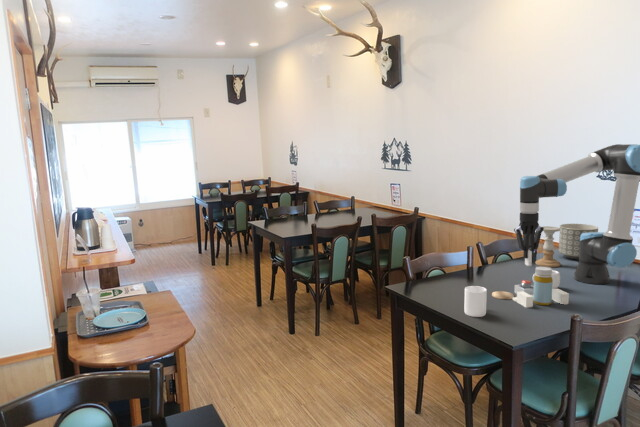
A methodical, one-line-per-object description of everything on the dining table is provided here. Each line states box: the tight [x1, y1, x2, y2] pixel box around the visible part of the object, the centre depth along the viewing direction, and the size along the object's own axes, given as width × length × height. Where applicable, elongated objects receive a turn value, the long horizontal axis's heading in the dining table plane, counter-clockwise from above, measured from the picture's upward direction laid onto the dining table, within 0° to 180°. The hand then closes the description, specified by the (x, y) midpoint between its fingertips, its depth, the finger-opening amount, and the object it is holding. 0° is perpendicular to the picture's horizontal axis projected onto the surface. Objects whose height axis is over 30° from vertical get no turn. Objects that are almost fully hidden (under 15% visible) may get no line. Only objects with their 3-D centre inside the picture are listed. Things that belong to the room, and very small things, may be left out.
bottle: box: [533, 266, 553, 307], centre depth 204 cm, size 7×7×15 cm
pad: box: [491, 290, 515, 300], centre depth 215 cm, size 9×9×1 cm
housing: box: [512, 284, 570, 309], centre depth 210 cm, size 19×19×4 cm
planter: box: [558, 223, 599, 261], centre depth 275 cm, size 19×19×18 cm
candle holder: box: [534, 225, 561, 268], centre depth 263 cm, size 12×12×20 cm
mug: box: [532, 269, 561, 289], centre depth 225 cm, size 12×8×8 cm
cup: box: [463, 285, 488, 318], centre depth 195 cm, size 8×12×10 cm
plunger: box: [520, 279, 532, 289], centre depth 216 cm, size 4×4×5 cm
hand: (528, 265), depth 215 cm, fingers closed
